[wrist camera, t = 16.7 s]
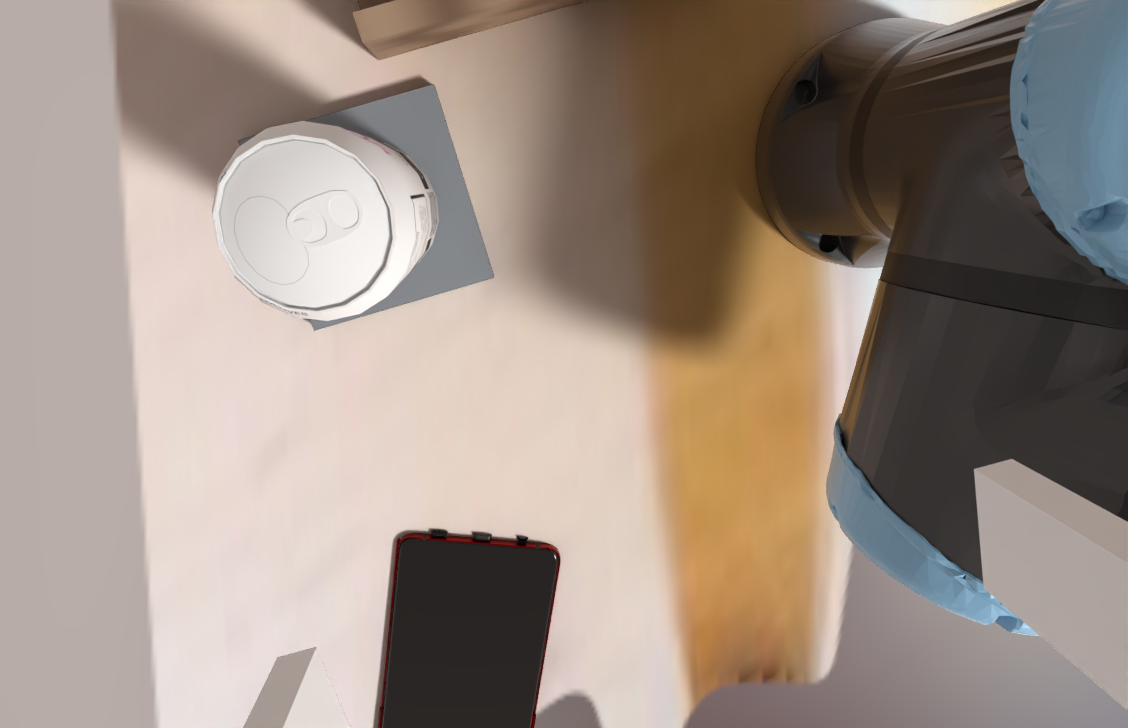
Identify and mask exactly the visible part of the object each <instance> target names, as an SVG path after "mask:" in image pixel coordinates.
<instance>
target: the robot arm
mask: <svg viewBox="0 0 1128 728" xmlns="http://www.w3.org/2000/svg"><path fill="white" fill-rule="evenodd" d="M756 171H757V179H758V185H759V189H760V193H761V196H762V199H763V202H764V205H765V207H766V209H767V211H768V213H769V215H770V217H771V219H772V220H773V222H774V223H775V225H776V226H777V228H778V229H779V230H780V231H781V233H782V234H783V235H784V236H785V237H786V238H787V239H788V240H789V241H790V242H791V243H792V244H794V245H795V246H796V247H798V248H799V249H800V250H802V251H804V252H805V253H807V254H809V255H811V256H813V257H815V258H818V259H820V260H823V261H827V262H831V263H835V264H839V265H844V266H848V267H856V268H877V267H883V269H882V273H881V277H880V279H879V281H878V285H877V288H876V292H875V296H874V299H873V303H872V307H871V310H870V314H869V318H868V322H867V325H866V329H865V333H864V336H863V340H862V344H861V347H860V351H859V355H858V358H857V362H856V366H855V370H854V373H853V376H852V380H851V383H850V387H849V390H848V393H847V397H846V400H845V404H844V407H843V410H842V413H841V414H840V415H839V416H838V418H837V421H836V423H835V427H834V442H835V443H834V449H833V454H832V459H831V463H830V468H829V472H828V476H827V483H826V494H827V499H828V504H829V507H830V509H831V511H832V513H833V515H834V517H835V518H836V520H837V521H838V522H839V524H840V527H841V529H842V531H843V532H844V534H845V535H846V536H847V537H848V538H849V540H850V541H851V542H852V543H853V544H854V545H855V546H856V547H857V548H858V549H859V550H860V551H861V552H862V553H863V554H864V555H865V556H866V557H867V558H868V559H869V560H870V561H872V562H873V563H874V564H875V565H876V566H878V567H879V568H880V569H881V570H883V571H884V572H885V573H887V574H888V575H890V576H891V577H893V578H894V579H895V580H897V581H898V582H900V583H901V584H903V585H904V586H906V587H907V588H909V589H910V590H912V591H914V592H915V593H917V594H918V595H920V596H922V597H924V598H926V599H928V600H929V601H931V602H933V603H935V604H936V605H939V606H940V607H942V608H944V609H946V610H948V611H951V612H953V613H955V614H957V615H960V616H962V617H965V618H967V619H970V620H972V621H975V622H978V623H981V624H983V625H989V624H991V623H993V622H996V623H997V624H999V625H1000V626H1001V627H1003V628H1005V629H1006V630H1007V631H1009V632H1012V633H1018V634H1024V635H1032V636H1041V637H1042V638H1043V639H1044V640H1045V641H1047V642H1048V643H1049V644H1050V645H1051V646H1053V647H1054V648H1055V649H1056V650H1057V651H1059V652H1060V653H1061V654H1062V655H1063V656H1064V657H1066V658H1067V659H1068V660H1069V661H1070V662H1072V663H1073V664H1074V665H1075V666H1076V667H1077V668H1078V669H1080V670H1081V671H1082V672H1083V673H1084V674H1086V675H1087V676H1088V677H1089V678H1090V679H1092V680H1093V681H1094V682H1095V683H1096V684H1097V685H1099V686H1100V687H1101V688H1102V689H1103V690H1105V691H1106V692H1107V693H1108V694H1109V695H1110V696H1112V697H1113V698H1114V699H1115V700H1116V701H1117V702H1119V703H1120V704H1121V705H1122V706H1123V707H1124V708H1126V709H1127V710H1128V0H1019V1H1016V2H1013V3H1010V4H1007V5H1005V6H1002V7H999V8H996V9H993V10H991V11H988V12H985V13H982V14H979V15H977V16H974V17H971V18H968V19H965V20H963V21H960V22H957V23H954V24H952V25H949V26H948V25H943V24H938V23H933V22H928V21H923V20H918V19H912V18H886V19H879V20H873V21H869V22H865V23H862V24H859V25H856V26H854V27H851V28H849V29H847V30H844V31H842V32H840V33H837V34H835V35H833V36H831V37H829V38H827V39H825V40H823V41H822V42H820V43H819V44H817V45H816V46H814V47H813V48H811V49H810V50H809V51H808V52H806V53H805V54H804V55H803V56H802V57H801V58H800V59H799V60H798V61H797V62H796V63H795V64H794V65H793V66H792V67H791V68H790V69H789V70H788V72H787V73H786V74H785V76H784V77H783V78H782V80H781V81H780V83H779V84H778V86H777V87H776V89H775V91H774V93H773V94H772V96H771V98H770V100H769V103H768V105H767V107H766V110H765V112H764V115H763V118H762V122H761V125H760V129H759V134H758V140H757V148H756ZM243 728H351V726H350V724H349V722H348V719H347V717H346V715H345V712H344V710H343V708H342V705H341V703H340V701H339V698H338V696H337V694H336V691H335V689H334V687H333V684H332V682H331V680H330V677H329V675H328V673H327V670H326V668H325V666H324V663H323V661H322V659H321V656H320V654H319V652H318V649H317V647H314V648H310V649H307V650H303V651H299V652H296V653H292V654H288V655H285V656H281V657H278V658H277V660H276V662H275V664H274V666H273V668H272V670H271V672H270V674H269V676H268V678H267V680H266V682H265V684H264V686H263V688H262V690H261V692H260V694H259V697H258V699H257V701H256V703H255V705H254V707H253V709H252V711H251V713H250V715H249V717H248V719H247V721H246V723H245V725H244V727H243Z"/></svg>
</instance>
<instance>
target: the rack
mask: <svg viewBox="0 0 1128 728" xmlns="http://www.w3.org/2000/svg"><path fill="white" fill-rule="evenodd" d="M584 1H587V0H394V1H390V0H358V3H359V6H360V9H361V10H359V11H356V12H352V13H353V16H354V19H355V22H356V25H357V28H358V31H359V34H360V37H361V40H362V43H363V44H364V45H365V46H366V47H367V48H368V49H369V51H370V52H371V53H372V54H373V55H374V56H375V57H376V58H377V59H378V60H381V59H384V58H388V57H391V56H395V55H398V54H402V53H405V52H409V51H412V50H416V49H419V48H423V47H426V46H430V45H433V44H437V43H440V42H444V41H447V40H451V39H454V38H458V37H461V36H465V35H468V34H472V33H475V32H479V31H482V30H486V29H489V28H493V27H496V26H500V25H503V24H507V23H510V22H514V21H517V20H521V19H524V18H528V17H531V16H535V15H538V14H542V13H545V12H549V11H552V10H556V9H559V8H563V7H566V6H570V5H573V4H577V3H580V2H584Z"/></svg>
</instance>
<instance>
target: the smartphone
mask: <svg viewBox="0 0 1128 728" xmlns="http://www.w3.org/2000/svg"><path fill="white" fill-rule="evenodd" d="M439 531H440V530H439ZM436 533H437V535H442V536H444V537H442V536H441V537H438V536H437V535H436ZM444 533H445V532H444ZM444 533H443V531H442V532H440V534H439V532H435V530H434V532H432V535H431V534H423V533H411V534H407V535H405V536H403V537H402V538H401V539H399V538H398V540H397V548H396V558H395V569H394V581H393V591H392V601H391V612H390V622H389V632H388V642H387V653H386V663H385V673H384V683H383V694H382V704H381V706H380V712H379V722H378V728H534V725H535V719H536V714H535V713H536V707H537V700H538V694H539V688H540V682H541V676H542V670H543V664H544V658H545V652H546V646H547V640H548V634H549V628H550V622H551V616H552V610H553V604H554V598H555V592H556V585H557V579H558V573H559V567H560V553H559V551H558V549H557V548H556V547H555V546H553V545H550V544H545V543H534V542H527V543H526V541H527V539H528V537H527V539H520V538H518V541H509V540H497V539H491V536H492V534H491V536H478V535H474V536H473V538H472V537H460V536H447V533H445V535H444ZM473 534H474V533H473ZM433 535H436V537H434V536H433ZM446 536H447V537H446ZM445 537H446V538H445ZM517 537H518V536H517ZM401 542H402V544H401V547H400V552H399V545H400V543H401ZM557 554H558V556H559V561H558V567H557ZM398 555H399V562H398ZM397 565H398V572H397ZM556 569H557V573H556ZM396 575H397V582H396V592H395V602H394V612H393V622H392V633H391V643H390V653H389V663H388V673H387V683H386V693H385V703H384V707H383V701H384V691H385V681H386V671H387V661H388V651H389V640H390V630H391V619H392V609H393V598H394V588H395V580H396ZM555 575H556V579H555ZM554 581H555V585H554ZM553 587H554V591H553ZM552 593H553V597H552ZM551 599H552V603H551ZM550 605H551V609H550ZM549 611H550V615H549ZM548 618H549V621H548ZM547 624H548V627H547ZM546 630H547V633H546ZM545 636H546V639H545ZM544 642H545V645H544ZM543 648H544V651H543ZM542 654H543V657H542ZM541 660H542V663H541ZM540 667H541V669H540ZM539 673H540V675H539ZM538 679H539V681H538ZM537 685H538V687H537ZM536 691H537V693H536ZM535 697H536V699H535ZM534 703H535V705H534ZM533 709H534V711H533Z"/></svg>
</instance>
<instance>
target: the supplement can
mask: <svg viewBox="0 0 1128 728" xmlns="http://www.w3.org/2000/svg"><path fill="white" fill-rule="evenodd" d="M212 214H213V220H214V226H215V232H216V238H217V244H218V247H219V249H220V251H221V253H222V254H223V256H224V258H225V260H226V262H227V263H228V265H229V267H230V269H231V271H232V272H233V274H234V276H235V278H236V279H237V280H239V281H240V282H241V283H242V284H243V285H244V286H245V287H246V288H247V289H248V290H249V291H250V292H251V293H253V294H254V295H255V296H256V297H257V298H258V299H259V300H260V301H261V302H263V303H265V304H267V305H269V306H271V307H273V308H276V309H278V310H280V311H282V312H284V313H286V314H288V315H291V316H293V317H298V318H307V319H315V320H324V321H330V320H335V319H339V318H344V317H348V316H353V315H357V314H361V313H362V312H364V311H365V310H367V309H369V308H370V307H372V306H373V305H375V304H376V303H378V302H379V301H381V300H383V299H384V298H386V297H387V296H388V295H389V294H390V293H391V292H392V291H393V290H394V289H395V288H396V287H397V286H398V284H399V283H400V282H401V281H402V280H403V279H404V278H405V277H406V276H407V275H408V274H409V273H410V272H411V271H412V269H413V268H414V267H415V266H416V265H417V264H418V263H419V262H420V260H421V259H422V258H423V256H424V255H425V254H426V252H427V251H428V250H429V248H430V247H431V246H432V244H433V241H434V237H435V234H436V230H437V226H438V223H439V217H438V204H437V196H436V194H435V192H434V190H433V187H432V185H431V183H430V180H429V178H428V176H427V174H426V173H425V172H424V171H423V170H422V169H421V168H420V167H419V166H418V164H417V163H416V162H415V161H414V160H413V159H412V158H411V157H410V156H409V155H407V154H405V153H403V152H401V151H399V150H398V149H396V148H394V147H392V146H390V145H388V144H386V143H383V142H381V141H378V140H375V139H372V138H369V137H367V136H364V135H361V134H358V133H355V132H353V131H350V130H347V129H344V128H342V127H339V126H332V125H326V124H320V123H313V122H307V121H299V122H294V123H289V124H284V125H279V126H274V127H270V128H266V129H265V130H263V131H262V132H260V133H259V134H257V135H256V136H254V137H253V138H251V139H250V140H248V141H247V142H245V143H244V144H242V145H241V146H239V147H238V148H237V150H236V151H235V153H234V154H233V156H232V157H231V159H230V160H229V162H228V163H227V165H226V166H225V168H224V169H223V171H222V172H221V174H220V175H219V177H218V182H217V188H216V193H215V198H214V203H213V208H212Z"/></svg>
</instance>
